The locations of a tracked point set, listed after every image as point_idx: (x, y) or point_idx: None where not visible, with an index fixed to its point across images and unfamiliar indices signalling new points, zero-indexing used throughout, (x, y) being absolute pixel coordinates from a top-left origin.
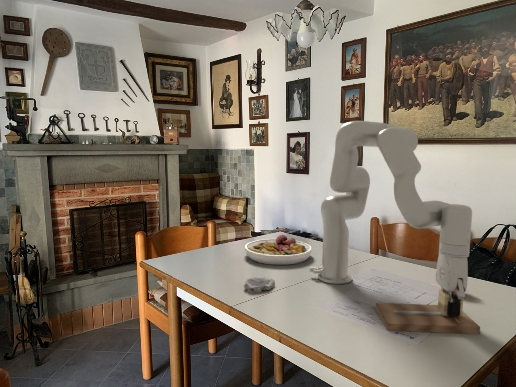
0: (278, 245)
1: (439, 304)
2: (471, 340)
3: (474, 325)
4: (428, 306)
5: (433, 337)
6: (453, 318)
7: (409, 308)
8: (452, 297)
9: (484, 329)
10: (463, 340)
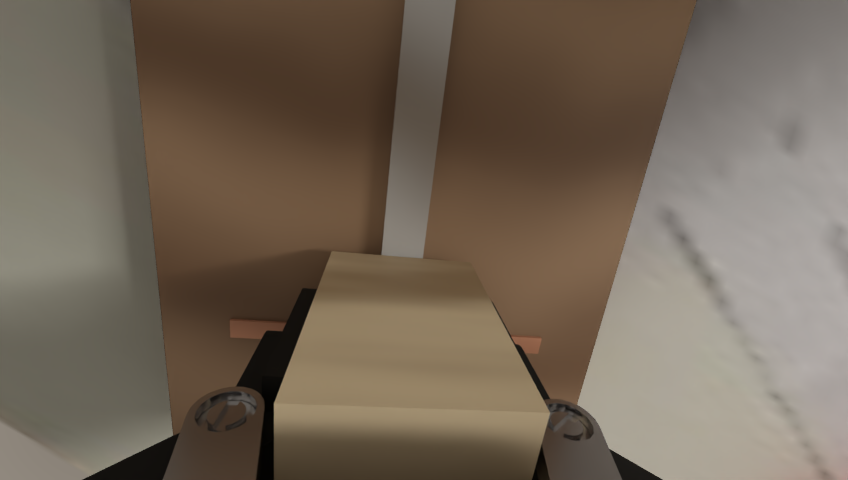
0: None
1: (447, 289)
2: (83, 304)
3: None
4: (586, 225)
5: (64, 9)
6: None
7: None
8: (172, 475)
9: None
10: (67, 248)
